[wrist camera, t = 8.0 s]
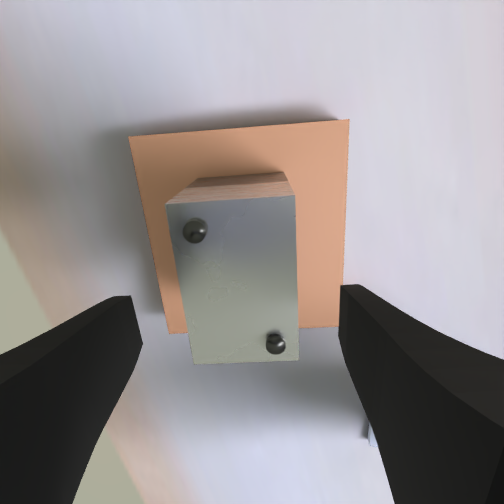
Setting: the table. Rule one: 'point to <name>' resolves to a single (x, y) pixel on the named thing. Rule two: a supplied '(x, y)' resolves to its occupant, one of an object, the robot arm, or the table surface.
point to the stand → (255, 162)
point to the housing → (237, 267)
